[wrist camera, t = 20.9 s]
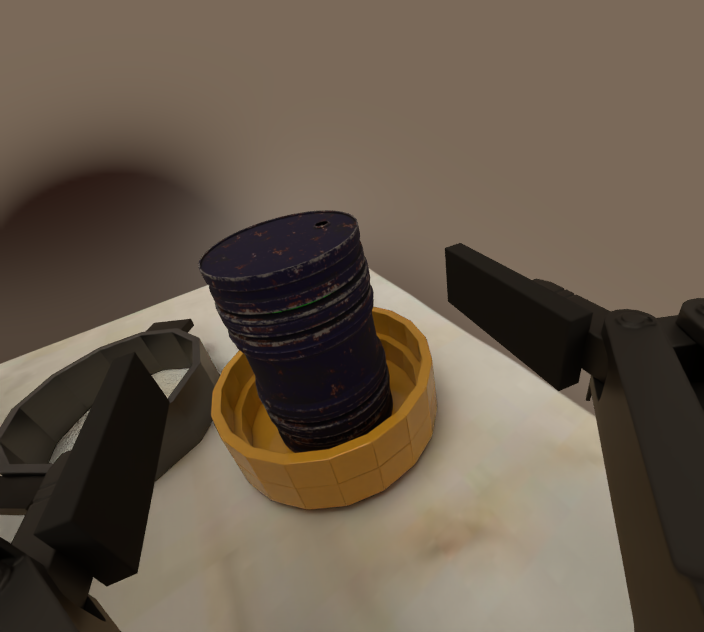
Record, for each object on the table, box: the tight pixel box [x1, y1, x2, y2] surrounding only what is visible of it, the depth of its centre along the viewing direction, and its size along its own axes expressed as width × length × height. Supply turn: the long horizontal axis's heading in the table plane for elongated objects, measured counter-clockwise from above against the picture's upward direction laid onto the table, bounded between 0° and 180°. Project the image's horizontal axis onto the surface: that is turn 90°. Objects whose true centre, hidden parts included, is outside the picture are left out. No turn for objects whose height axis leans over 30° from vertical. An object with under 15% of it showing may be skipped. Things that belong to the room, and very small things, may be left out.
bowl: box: [211, 307, 437, 510], centre depth 28 cm, size 16×16×6 cm
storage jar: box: [198, 210, 393, 453], centre depth 25 cm, size 10×10×15 cm
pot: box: [0, 319, 220, 515], centre depth 32 cm, size 21×16×5 cm
